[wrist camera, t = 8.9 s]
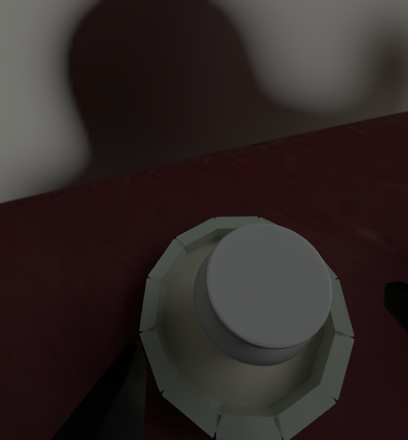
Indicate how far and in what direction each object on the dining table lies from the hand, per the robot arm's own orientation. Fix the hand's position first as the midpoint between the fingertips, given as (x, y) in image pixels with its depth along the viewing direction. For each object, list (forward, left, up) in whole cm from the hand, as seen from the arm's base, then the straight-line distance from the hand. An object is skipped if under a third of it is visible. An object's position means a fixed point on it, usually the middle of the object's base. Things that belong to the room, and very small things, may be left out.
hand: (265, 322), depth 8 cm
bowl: (+1, +1, -9) cm, 9 cm away
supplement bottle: (+1, +1, -8) cm, 8 cm away
